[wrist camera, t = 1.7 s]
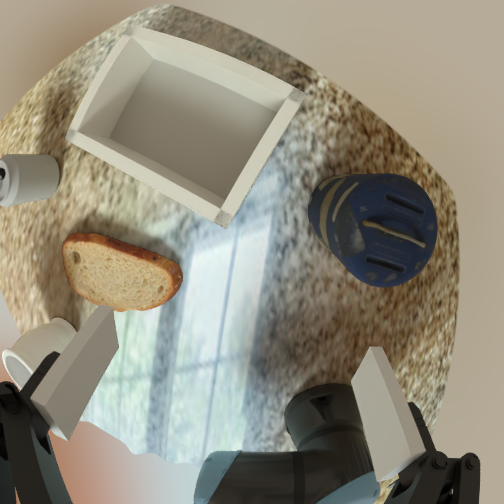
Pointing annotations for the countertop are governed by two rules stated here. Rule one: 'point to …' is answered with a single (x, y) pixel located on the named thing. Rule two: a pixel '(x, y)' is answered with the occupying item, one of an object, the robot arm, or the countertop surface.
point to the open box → (184, 120)
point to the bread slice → (119, 273)
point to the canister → (375, 225)
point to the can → (27, 178)
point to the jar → (36, 349)
